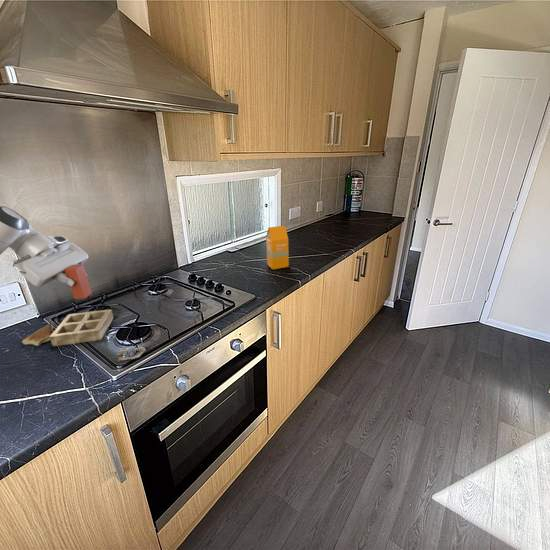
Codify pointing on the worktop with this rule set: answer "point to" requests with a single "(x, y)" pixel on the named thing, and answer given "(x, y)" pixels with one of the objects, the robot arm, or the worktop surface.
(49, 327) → the shard
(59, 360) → the worktop surface
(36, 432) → the worktop surface
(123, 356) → the grey flat piece
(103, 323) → the four-pane grid frame
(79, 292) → the peg
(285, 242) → the orange juice
